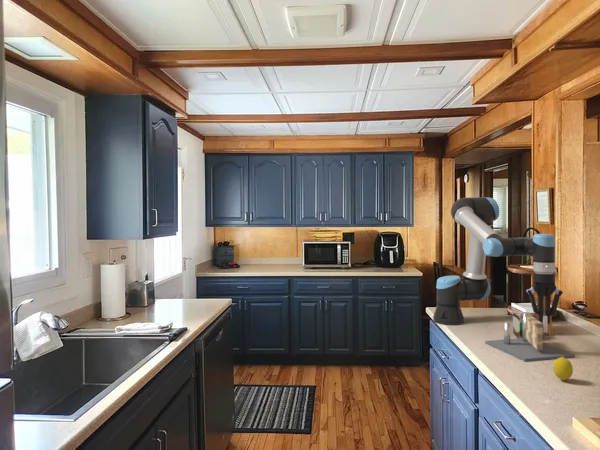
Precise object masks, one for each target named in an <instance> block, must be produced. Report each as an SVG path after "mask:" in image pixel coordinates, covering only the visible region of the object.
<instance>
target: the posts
mask: <svg viewBox="0 0 600 450" xmlns="http://www.w3.org/2000/svg"><path fill="white" fill-rule="evenodd" d="M522 313H523V341H525V342H529V341H528V340H526V319H525V315H531V312H528V311H527V312H526V311H525V312H523V311H522ZM510 339H511V322H509V321H504V322H503V340H504V344H506V345H510Z"/></svg>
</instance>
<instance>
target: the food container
mask: <svg viewBox="0 0 600 450" xmlns="http://www.w3.org/2000/svg"><path fill="white" fill-rule="evenodd" d="M511 314H512V334H513V336H514V335H515V336H514V337H515V338H516V339H517V338H523V312H516V311H515V312H514V311H512V313H511Z"/></svg>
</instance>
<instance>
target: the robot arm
mask: <svg viewBox="0 0 600 450" xmlns="http://www.w3.org/2000/svg"><path fill="white" fill-rule="evenodd" d="M450 215H451V217H452V219H453V220H454V222H455V223H456V224H457V225H461V226H463V227H464V228H465V229H466V230H467V231H468V232H469V240H468V249H467V259H466V269H465V270H466V271H463V272H462V278H461V276H460V275H455V274H454V275H444V276H440V277H438V279H436V286H435V288H436V306H435V307H436V308H435V310H434V313H433V316H432V317H433V318H432V319H433V320H432V321H433V322H434V323H437V324H440V325H446V326H447V325H449V326H458V325H462V324H463V325H464V323H465V317H464V315H463V312H462V311H463V310H462V308H461V302H467V301H468V302H470V301H476V302H477V301H484V300H486V299H488V297H490V296H489V295H490V294H491V291H492V288H491V287H492V286H491V282H490V280H489V279H488V278H487V274H485V267H486V259H487V257H495V258H498V257H520V256H521V257H523V256H524V257H525V256H526V257H533V259H532V260H533V261H532V263H533V264H532V267H533V268H532V271H534V272H535V273H534V274H533V279H532V281H533V284H532V286H531V287H530V288H529V289H528V288H527V289H525V292H526V293H527V294H528V296H529V301H530V304H531V308H532V312H533V313H535V315H536V314H538V315H539V321H540V322H541V323H542V324H543V332H546V333H547V324H550V316H551V317H552V315H556V313H557V309H558V306H559V301H560V297H561V296H562V294H563V293H564V292H563V290H561V289H559V288H557V286H556V274H555V272H556V239H555V235H553V234H552V233H536V234H534V235H533V237H523V236H522V237H521V236H520V237H503V236H501V235H500V234H499V233H498V232H497V231H495V230H494V229H493V228H492V226H493V225H494V221H497V220H498V219H499V216H500V207H499V204H498V203H497V201H496V200H495V199H494V198H493V197H487V196H483V197H481V196H480V197H478V196H477V197H461V198H458V199H457V200H456V201H455V202H454V203H452V205H451V209H450ZM534 293H535V294H536V295H537V294H538V309H537V301H536V299H535V295H534ZM553 293H554V296H553V299H551V298H552V297H551V296H552V295H553ZM544 296H545V314H546V315H543V299H544ZM551 300H552V302H551Z"/></svg>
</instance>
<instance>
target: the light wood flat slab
mask: <svg viewBox="0 0 600 450" xmlns="http://www.w3.org/2000/svg"><path fill="white" fill-rule="evenodd" d="M525 319H526V340H528V341H529V342H530V343H531V344H532V345H533V346H534V347H535V348H536V349H537V350H542V342H543V335H544V334H543V324H542V323H541V322H540V321H538V320H537V319H536V317H534V315H532V314H530V315H525Z"/></svg>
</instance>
